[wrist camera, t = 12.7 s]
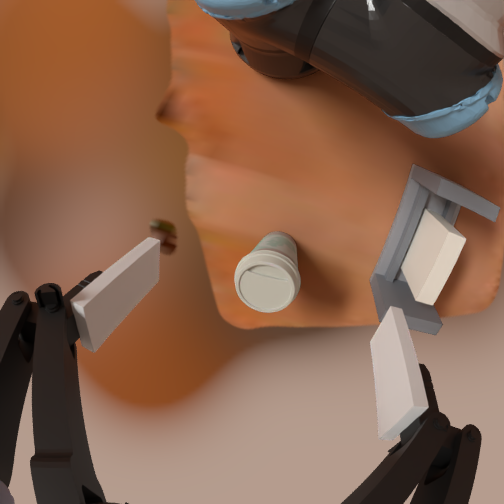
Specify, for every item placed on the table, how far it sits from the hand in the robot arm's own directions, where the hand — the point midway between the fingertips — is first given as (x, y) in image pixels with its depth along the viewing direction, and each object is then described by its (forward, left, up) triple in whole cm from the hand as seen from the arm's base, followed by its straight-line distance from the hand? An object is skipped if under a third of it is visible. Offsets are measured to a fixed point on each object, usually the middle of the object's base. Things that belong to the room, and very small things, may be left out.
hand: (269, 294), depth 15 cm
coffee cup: (+11, -1, -29) cm, 31 cm away
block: (+3, +20, -28) cm, 34 cm away
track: (+2, +20, -29) cm, 35 cm away
